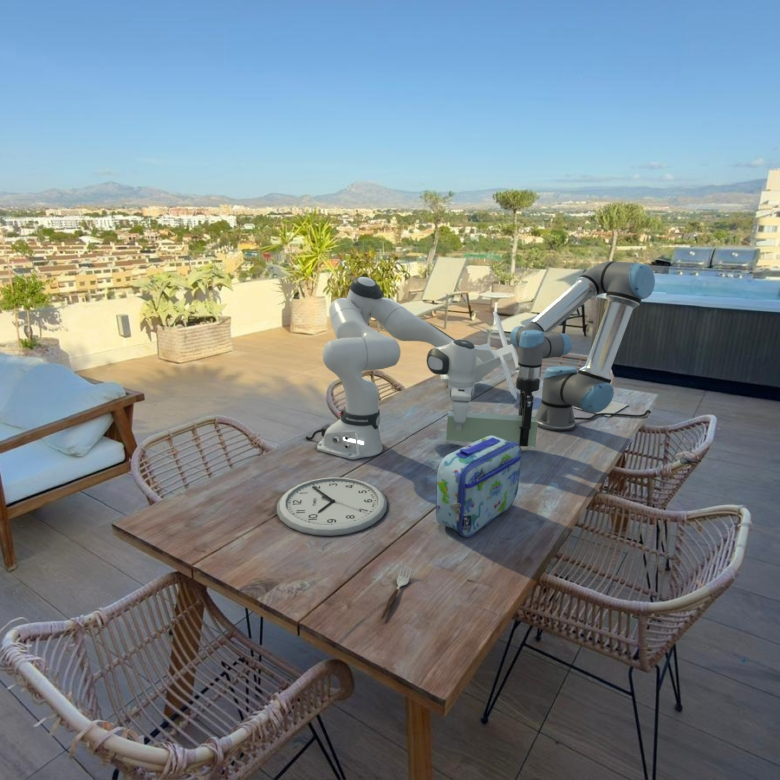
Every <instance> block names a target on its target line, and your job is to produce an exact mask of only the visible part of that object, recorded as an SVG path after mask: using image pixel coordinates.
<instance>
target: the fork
mask: <svg viewBox="0 0 780 780" xmlns="http://www.w3.org/2000/svg"><path fill="white" fill-rule="evenodd" d="M403 567H404V568H403ZM406 567H407V565H405V566H404V564H402V565H401V568H400V571H399V573H398V576H397V578H396V584H397V587H396V589H394V591H393V592H392V593H391V595H390V597H389V599H387V603H386V605H385V608H384V610H383V613H382V616H381V619H384V617H385V616H386V614H387V613H388V611H389V610H390V608H391V607H392V606H393V604H394V603H395V601H396V598H397V595H398V593H399V590H400V588H401V587H403V586H406V585H408V584H409V582H410V578H411V574H412V570H413V567H411V568H410V566H408V567H407V570H406ZM409 568H410V571H409ZM408 573H409V574H408Z"/></svg>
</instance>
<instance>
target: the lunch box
mask: <svg viewBox="0 0 780 780" xmlns="http://www.w3.org/2000/svg"><path fill="white" fill-rule="evenodd" d="M521 452H522V449H521V446H520V445H519V444H518V443H517V442H509V441H506V440H504V439H501V438H498V437H496V436H487V437H485V438H482V439H480V440H478V441H476V442H470V443H469V444H467V445H465V446H463V447H461V448H459V449H457V450H454V451H453V452H451V453H448V454H446V455H445V456H444V457H443V458H442V459H441V460H440V463H439V465H438V467H437V474H436V485H435V486H436V494H435V495H436V497H435V498H436V499H435V516H436V522H437V523H438V524H440V525H442V526H445V527H448V528H450V529H453V530H454V531H456V532H458V534H459V535H461V537H465V538H470V537H471V536H473V535H475V534H476V533H477V532H478V531H479V530H480V529H482V528H483V527H485V526H486V525H488V524H489V523H490V522H491V521H493V520H494V519H495V518H496V517H497V516H499V515H501V514H502V513H504V512H505V511H507V510H508V509H510V508H511V507H512V506H513V504H514V502H515V500H516V498H517V495H518V494H517V493H518V491H519V483H520V474H521V458H522V457H521V455H522V453H521Z"/></svg>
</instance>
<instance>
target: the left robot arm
mask: <svg viewBox="0 0 780 780" xmlns="http://www.w3.org/2000/svg"><path fill="white" fill-rule="evenodd" d="M328 316H329V322H330V325H331V327H332V329H333V332H334V334H335V339H332V340H328V341H327V342H326V343H325V345H324V347H323V350H322V356H321V357H322V362H323V364H324V365H325V367H326V368H327V369H328V370H329V371H330V372H332V373H333V374H334V375H336V376H337V378H338V379H339V380H340V382H341V384H342V386H343V390H344V400H345V401H344V402H345V406H343V409H341V410H340V412H339V413H338V418H339V419H338V420H336V421H335V422H333V423H332V424H325V425H324V426H322V427H321V429H320V428H319V429H317V430H315V431H314V432H313V433H312V435H311V436H305V439H306V440H308V441H311V440H313V439H315V436H316V435H317V434H319V433H321V437H323V438H322V439H321V440H320V441H319V442H318V443H317V445H316V450H317V451H319V452H322V453H326V454H329V455H332V456H336V457H341V458H344V459H348V460H358V459H361V458H368V457H369V458H370V457H374V456H377V455H379V454H381V453H382V452H383V450H384V447H383V444H382V439H381V434H380V425H381V413H380V412H381V411H380V408H379V405H380V404H379V401H380V399H379V398H380V397H379V394H380V390H379V388H378V386H377V384H376V383H375V382H373V381H372V380H369V379H367V378H365V377H363V375H362V373H363V372H365V371H377V370H384V369H388V368H391V367H394V366H396V365H397V364H398V363H399V361H400V359H401V347H400V344H399V343H398V341H402V342H422V343H426V344H430V345H431V346H433V348H430V350H429V351H428V353H427V354H426V366H427V369H429V371H430V372H431V373H432V374H434V375H439V376H440V375H448V377H449V378H448V385H447V394H448V395H449V397H450V400H451V401H452V411H453V417H454V423H456V430H457V431H461V427H462V424H464V423H465V421H466V417H467V412H468V411H469V405H470V404H469V403H470V402H471V401H472V397H473V396H474V395H475V384H476V383H475V378H474V372H475V369H476V349H475V346H476V345H475V344H474V343H473V342H471V341H470V340H466V339H463V340H461V339H462V338H460V339H459V340H455V339H456V338H454V337H452V336H451V335H449V334H447V333H446V332H444V331H443V330H441V329H440V328H438V327H437V326H435V325H434V324H432V323H430V322H428V321H427V320H424V319H422V318H420V317H419V316H417V315H415V314H414V313H413V312H411V311H410V310H408V309H407V308H406V307H405V306H404V305H402V304H401V303H399V302H397V301H395V300H393V299H391V298H390V297H389V298H388V297H384V292H383V290H382V289H381V287H380V286H379V284H378V283H377V281H375V280H374V279H373V278H370V277H368V276H357V277H355V278H354V279H353V280H352V281H351V283H350V285H349V291H348V293H347V296H346V298H345V297H340V298H336V299H335V300H333V301H332V302H331V303H330V306H329V309H328ZM371 319H374V320H375V321H376V322H377V323H378V324H379V325H380V326H381V328H382V329H384V331H385V332H386V333H388V334H389V335H390V336H388V335H385V334H382V333H380V332H379V331H377V330H375V329H374V328H372V327H371V326H370V322H371ZM391 336H392V337H391ZM397 340H398V341H397Z"/></svg>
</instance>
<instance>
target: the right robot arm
mask: <svg viewBox="0 0 780 780" xmlns="http://www.w3.org/2000/svg"><path fill="white" fill-rule="evenodd" d="M655 276H656V275H655V272H654V270H653V269H652V268H651V266H649V265H648V264H646V263H641V262H628V261H627V262H626V261H616V260H609V261H604V262H601V263H598V264H597V265H594V266H592V267H591V268H589V269H588V270H586V271H585V272H583V273H581V274H580V275H579V276H578V277H577V278H576V279H575V280H574V284H573V285H572V286H570V287H569V288H568V289H567V290H566V291H565V292H563V293H562V294H561V295H560V296H559V297H558V298H557V299H555V300H554V301H553V302H551V303H550V305H548V306H547V307H546V308H544V309H543V310H542V311H541V312H540V313H539V314H538V315H536V316H535V317H534V318H533V319H532V320H530V321H529V322H528V323H527V324H526V325H525V326H523V325H518V326H515V327H514V328H513V329H512V330H511V331H510V333H509V342H510V344H512V345H513V346H514V347H515V348H518V367H516V366H515V370H516V376H517V377H516V382H515V389H517V390H518V391H519V406H518V414H517V416H522V426H521V427H519V429H521V431H520V442H519V445H520V447H529V446H528V437H529V429H531V417H533V407H534V395H533V392H537V391H539V390H540V385H541V384H540V383H541V379H540V378H541V375H542V367H543V366H542V364H543V359H549V358H551V359H552V358H559V357H564V356H567V355H569V353H570V352H571V350H572V347H573V342H572V339H571V337H570V336H569V335H568V334H567V333H559V332H558V333H551V332H553V331H554V330H555V329H556V328H557V327H558V326H560V325H561V324H562V323H563V322H564V321H565V320H567V319H568V318H569V317H571V315H572V314H573V313H575V312H576V311H577V310H578V309H579V308H580V307H582V306H583V305H584V304H585V303H586V302H587V301H589V300H593V299H595V298H596V297H598V296H600V295H603V294H604V295H605V299H606V300H607V304H606V307H605V310H604V312H603V316H602V318H601V321H600V324H599V325H598V329H597V333H595V337H594V339H593V343H592V346H591V348H590V350H589V354H588V356H587V359H586V361H585V364H584V366H582V367H580V368H579V369H577V367H574V366H567V365H557V366H550V367H547V368H546V369H545V370H544V375H543V378H542V379H543V381H542V392H541V402H540V405H539V407H538V410H537V411H536V413H535V415H534V417H536V418H537V421H538V427H539V428H542V429H544V430H549V431H556V432H567V431H572V430H574V429H575V428H576V420H581V421H590V420H593V419H595V418H596V417H598V416H604V415H611V416H618V417H629V418H631V417H632V418H642V417H645V416H646V415H647V414H648V413H649V414H651V413H652V412H651V410H650V409H647V410H645V412H644V413H643V414H630V413H598V412H601V411H602V410H603V409H605V408H606V407H607V406H608V405H609V404H610V402H611V401H613V398H614V396H615V389H614V386H613V385H612V384H611V383H612V380H613V378H612V377H611V375H610V372H611V369H612V367H613V364H614V361H615V358H616V357H617V353H618V351H619V348H620V345H621V343H622V339H623V338H624V334H625V332H626V329H627V326H628V324H629V321H630V319H631V316H632V313H633V310H634V309H635V308H638V307H639V306H640V305H641V302H642V300H645V299H648V298H649V297H650V296H651V295H652V293H653V292H654V289H655V285H656V277H655ZM517 370H518V371H517ZM574 407H577V408H580V409H582V410H581V411H584V412H588V411H589V412H588V413H593V415H592V416H590V417H580V416H579V417H577V416H575V413H574ZM580 409H579V410H580ZM596 413H598V414H596Z"/></svg>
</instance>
